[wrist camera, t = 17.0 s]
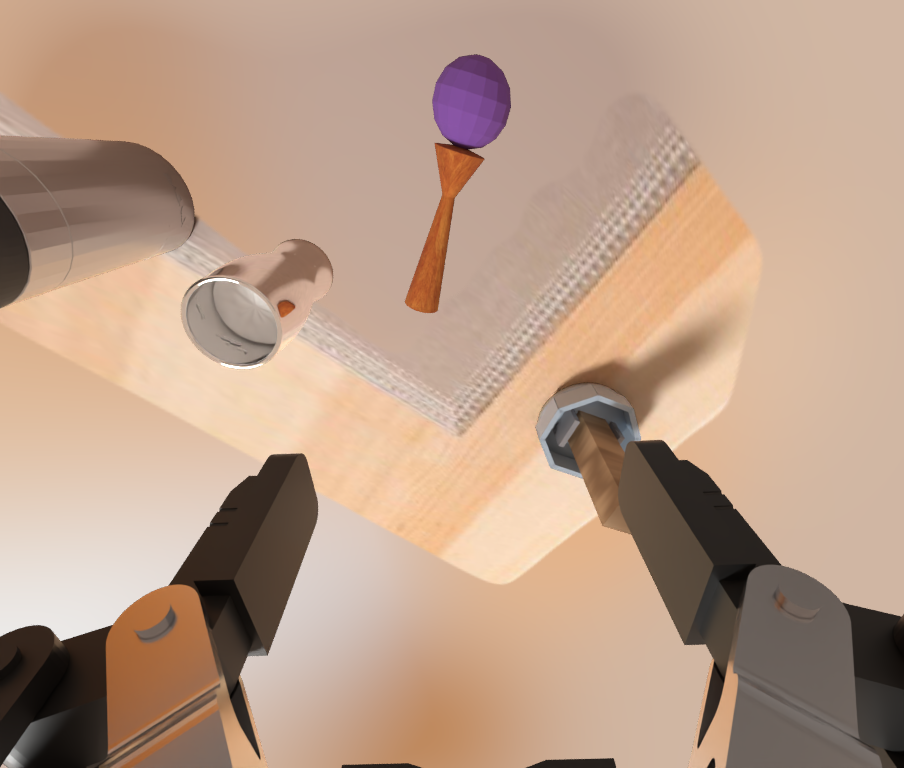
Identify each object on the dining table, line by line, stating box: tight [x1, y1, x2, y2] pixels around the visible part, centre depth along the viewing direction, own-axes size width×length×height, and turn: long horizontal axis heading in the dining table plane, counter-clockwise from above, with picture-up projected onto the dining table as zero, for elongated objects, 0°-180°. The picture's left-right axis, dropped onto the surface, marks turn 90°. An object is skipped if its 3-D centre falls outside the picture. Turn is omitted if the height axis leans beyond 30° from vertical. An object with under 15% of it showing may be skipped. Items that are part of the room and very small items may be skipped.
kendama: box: [405, 54, 511, 313], centre depth 36 cm, size 6×6×20 cm
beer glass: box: [181, 239, 333, 369], centre depth 34 cm, size 7×7×15 cm
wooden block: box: [568, 410, 632, 535], centre depth 42 cm, size 3×3×14 cm
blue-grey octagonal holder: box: [535, 383, 641, 479], centre depth 48 cm, size 10×10×4 cm
